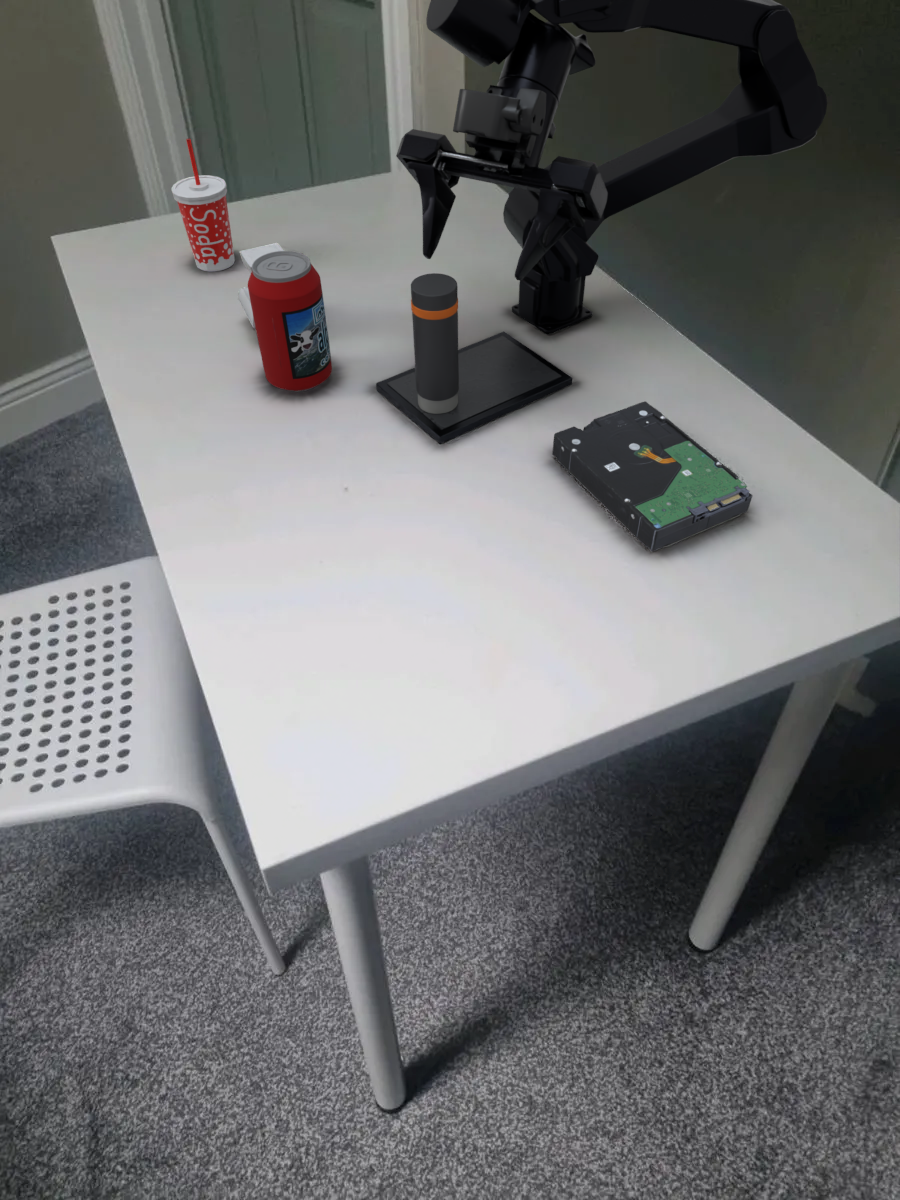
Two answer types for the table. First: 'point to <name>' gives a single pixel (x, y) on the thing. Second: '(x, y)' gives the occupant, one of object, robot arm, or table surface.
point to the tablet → (481, 386)
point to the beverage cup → (205, 218)
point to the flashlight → (435, 341)
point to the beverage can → (290, 320)
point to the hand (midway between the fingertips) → (471, 267)
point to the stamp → (248, 259)
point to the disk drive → (651, 475)
